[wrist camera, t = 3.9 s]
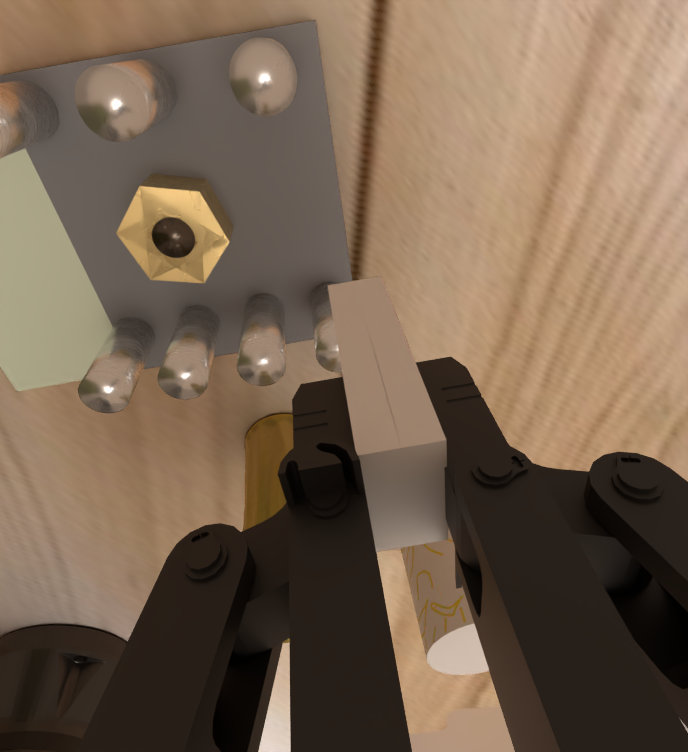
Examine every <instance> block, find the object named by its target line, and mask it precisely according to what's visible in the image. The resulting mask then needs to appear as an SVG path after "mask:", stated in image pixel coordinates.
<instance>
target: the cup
mask: <svg viewBox="0 0 688 752" xmlns="http://www.w3.org/2000/svg"><path fill="white" fill-rule="evenodd" d="M401 551H402V555H403V560H404V564H405V568H406V572H407V577H408V581H409V585H410V590H411V594H412V598H413V602H414V607H415V611H416V615H417V619H418V624H419V628H420V632H421V636H422V641H423V645H424V649H425V653H426V658H427V662H428V664H429V665H430V666H431V667H432V668H433V669H435V670H437V671H439V672H442V673H446V674H453V675H468V674H477V673H482V672H486V671H489V668H488V665H487V662H486V659H485V656H484V652H483V649H482V646H481V643H480V640H479V637H478V634H477V630H476V627H475V624H474V621H473V618H472V615H471V612H470V608H469V605H468V602H467V599H466V596H465V593H464V590H463V586H462V588H457V589H456V581H455V545H454V542H453V539H452V536H451V533H450V530H449V527H448V540H443V541H437V542H431V543H426V544H420V545H414V546H408V547H403V548H401Z"/></svg>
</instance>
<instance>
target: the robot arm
mask: <svg viewBox="0 0 688 752" xmlns="http://www.w3.org/2000/svg"><path fill="white" fill-rule="evenodd" d="M327 286H328V291H329V297H330V303H331V309H332V315H333V321H334V327H335V333H336V339H337V345H338V350H339V356H340V362H341V368H342V374H343V377H340V378H334V379H328V380H323V381H317V382H311V383H305V384H301V385H300V387H299V389H298V390H297V392H296V394H295V396H294V398H293V399H292V405H293V449H292V450H290V451H289V452H288V453H287V455H286V456H285V457H284V458H283V460H282V461H281V462H280V466H279V470H278V477H279V481H280V484H281V487H282V490H283V493H284V496H285V499H286V504H285V505H284V506H283V508H282V509H280V510H279V511H278V512H277V513H276V514H275V515H274V516H272V517H270V518H268V519H267V520H265V521H263V522H261V523H259V524H257V525H255V526H253V527H251V528H249V529H247V530H244V531H242V532H240V531H239V530H237V529H236V528H235V527H234V526H230V525H225V524H221V523H220V524H212V525H205V526H203V527H201V528H199V529H197V530H194V531H192V532H190V533H189V534H188V535H187V536H185V537H184V538H183V539H182V540H181V541H179V542H178V543H177V544H176V546H175V547H174V549H173V550H172V552H171V553H170V555H169V556H168V557H167V560H166V562H165V564H164V566H163V568H162V570H161V572H160V574H159V577H158V579H157V581H156V583H155V585H154V587H153V589H152V591H151V594H150V596H149V598H148V600H147V602H146V604H145V606H144V608H143V611H142V613H141V615H140V617H139V619H138V621H137V623H136V625H135V627H134V630H133V632H132V634H131V636H130V638H129V640H128V642H127V643H126V642H124V641H123V640H121V639H119V638H117V637H115V636H113V635H110V634H107V633H105V632H101V631H98V630H94V629H89V628H83V627H76V626H61V625H53V626H39V627H32V628H26V629H22V630H18V631H15V632H12V633H10V634H7V635H5V636H3V637H1V638H0V752H258V750H259V745H260V741H261V736H262V732H263V728H264V723H265V719H266V714H267V710H268V706H269V701H270V697H271V692H272V688H273V683H274V679H275V675H276V670H277V666H278V661H279V657H280V652H281V648H282V644H283V642H284V641H285V640H287V639H289V638H290V721H291V752H412V749H411V743H410V738H409V732H408V727H407V721H406V716H405V710H404V704H403V699H402V693H401V688H400V682H399V677H398V671H397V665H396V660H395V654H394V649H393V643H392V638H391V632H390V626H389V621H388V615H387V610H386V604H385V599H384V593H383V587H382V582H381V576H380V571H379V565H378V560H377V554H376V552H380V551H385V550H391V549H397V548H403V547H408V546H414V545H420V544H426V543H431V542H437V541H443V540H448V527H449V530H450V533H451V536H452V539H453V542H454V545H455V581H456V589H457V588H462V586H463V590H464V593H465V596H466V599H467V602H468V605H469V608H470V612H471V615H472V618H473V621H474V624H475V627H476V630H477V634H478V637H479V640H480V643H481V646H482V649H483V652H484V656H485V659H486V662H487V665H488V668H489V671H490V674H491V678H492V681H493V684H494V687H495V690H496V693H497V696H498V699H499V703H500V706H501V709H502V712H503V715H504V718H505V721H506V725H507V728H508V731H509V734H510V737H511V740H512V743H513V746H514V750H515V752H688V733H687V731H686V730H685V727H684V726H683V724H682V723H681V721H680V719H681V720H682V722H683V723H684V724H685V725H686V726H687V728H688V482H687V481H686V480H685V479H683V478H682V477H681V476H679V475H678V474H677V473H676V472H674V471H673V470H672V469H670V468H669V467H667V466H666V465H664V464H662V463H660V462H659V461H657V460H655V459H653V458H650V457H647V456H644V455H641V454H637V453H627V452H616V453H611V454H606V455H603V456H602V457H600V458H599V459H597V460H596V461H594V462H593V464H592V466H591V469H590V471H589V472H586V471H574V470H562V469H553V468H547V467H543V466H540V465H537V464H534V463H532V462H531V461H530V460H529V459H528V458H527V456H526V455H525V454H523V453H522V452H520V451H518V450H516V449H514V448H513V447H510V446H509V444H508V443H507V441H506V439H505V438H504V436H503V434H502V432H501V430H500V428H499V427H498V425H497V423H496V421H495V419H494V417H493V415H492V414H491V412H490V410H489V408H488V406H487V404H486V403H485V401H484V399H483V398H482V397H481V393H480V392H479V390H478V388H477V386H476V385H475V382H474V381H473V379H472V377H471V375H470V373H469V371H468V370H467V368H466V367H465V366H463V365H462V364H460V363H459V362H458V361H456V360H455V359H453V358H452V357H446V358H441V359H435V360H429V361H423V362H418V363H416V362H415V360H414V357H413V355H412V352H411V350H410V347H409V345H408V342H407V340H406V337H405V335H404V332H403V330H402V327H401V325H400V322H399V320H398V317H397V315H396V312H395V310H394V307H393V305H392V302H391V300H390V297H389V295H388V292H387V290H386V287H385V285H384V282H383V280H382V277H381V276H379V277H373V278H367V279H362V280H356V281H350V282H345V283H339V284H333V285H327ZM679 718H680V719H679Z"/></svg>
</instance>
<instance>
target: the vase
mask: <svg viewBox="0 0 688 752" xmlns="http://www.w3.org/2000/svg"><path fill="white" fill-rule="evenodd" d="M292 449H293V414H276V415H272V416H269V417H266V418H264V419H262V420H260V421H258V422H257V423H256V424H255V425H254V426H253V427H252V428H251V429H250V430H249V432H248V433H247V435H246V438H245V510H244V525H243V531H244V530H247V529H249V528H251V527H253V526H255V525H257V524H259V523H261V522H263V521H265V520H267V519H268V518H270V517H272V516H274V515H275V514H276V513H277V512H278V511H279V510H280V509H282V508H283V506H284V505H285V504H286V499H285V496H284V493H283V490H282V487H281V484H280V481H279V477H278V470H279V466H280V462H281V461H282V460H283V458H284V457H285V456H286V455H287V453H288V452H289V451H290V450H292ZM288 642H290V638H289V639H287V640H285V641H284V642H283V643H288Z"/></svg>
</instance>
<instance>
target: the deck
mask: <svg viewBox="0 0 688 752" xmlns="http://www.w3.org/2000/svg"><path fill="white" fill-rule="evenodd" d="M258 37H262V38H271V39H274V40H276V41H278V42H279V43H281V44H282V45H283V46H284V47H285V48H286V49H287V51H288V52H289V54H290V56H291V58H292V60H293V62H294V65H295V68H296V72H297V89H296V93H295V96H294V98H293V100H292V102H291V103H290V105H289V106H288V107H287V108H286V109H285V110H284V111H282V112H281V113H279V114H277V115H274V116H268V117H265V116H258V115H255V114H253V113H251V112H249V111H248V110H246V109H245V108H244V107H243V106H242V105H241V104H240V103H239V102H238V100H237V99H236V97H235V95H234V93H233V91H232V88H231V85H230V80H229V67H230V62H231V59H232V57H233V54H234V53H235V51H236V50H237V48H238V47H239V46H240V45H241V44H242V43H244V42H245V41H247V40H249V39H252V38H258ZM138 59H147V60H151V61H154V62H156V63H158V64H159V65H161V66H162V67H163V68H164V69H165V70H166V71H167V72H168V73H169V75H170V76H171V78H172V80H173V82H174V85H175V88H176V104H175V107H174V109H173V111H172V112H171V113H170V114H169V115H168V116H167V117H165V118H164V119H162V120H161V121H159V122H158V123H156V124H155V125H153V126H152V127H150V128H149V129H147V130H146V131H144V132H143V133H141V134H140V135H138V136H137V137H135V138H134V139H132V140H130V141H126V142H113V141H109V140H106V139H104V138H102V137H100V136H98V135H97V134H96V133H94V132H93V131H92V130H91V129H90V128H89V127H88V126H87V125H86V124H85V122H84V121H83V120H82V118H81V116H80V114H79V112H78V110H77V107H76V103H75V96H74V93H75V85H76V82H77V80H78V78H79V76H80V75H81V74H82V73H83V72H84V71H85V70H86V69H88V68H90V67H93V66H96V65H103V64H110V63H117V62H124V61H131V60H138ZM12 81H28V82H31V83H34V84H36V85H37V86H39V87H41V88H42V89H43V90H44V91H46V92H47V93H48V95H49V96H50V97H51V98H52V100H53V101H54V103H55V105H56V107H57V110H58V113H59V127H58V129H57V131H56V133H55V134H54V135H53V136H52V137H50V138H48V139H46V140H43V141H41V142H39V143H36V144H34V145H32V146H29V147H27V148H25V149H22V150H20V151H18V152H15V153H13V154H11V155H8V156H6V157H4V158H1V159H0V367H1V369H2V370H3V372H4V373H5V374H6V376H7V377H8V379H9V380H10V382H11V383H12V385H13V386H14V388H15V389H16V390H17V392H19V391H24V390H30V389H35V388H41V387H47V386H52V385H58V384H64V383H69V382H75V381H80V380H83V378H84V376H85V374H86V373H87V371H88V369H89V368H90V366H91V364H92V362H93V361H94V359H95V357H96V356H97V354H98V352H99V350H100V349H101V347H102V345H103V344H104V342H105V340H106V339H107V337H108V335H109V333H110V332H111V330H112V328H113V327H114V325H115V323H116V322H117V321H118V320H120V319H122V318H125V317H136V318H139V319H142V320H144V321H145V322H147V323H148V324H149V325H150V326H151V327H152V329H153V330H154V333H155V341H154V344H153V346H152V349H151V351H150V353H149V356H148V358H147V361H146V363H145V365H144V368H143V369H148V368H154V367H159V366H161V365H162V362H163V360H164V357H165V354H166V352H167V349H168V346H169V343H170V341H171V338H172V335H173V333H174V330H175V327H176V324H177V322H178V319H179V316H180V314H181V312H182V311H183V310H184V309H185V308H187V307H189V306H193V305H202V306H205V307H208V308H210V309H211V310H213V311H214V312H215V313H216V315H217V316H218V318H219V321H220V328H219V333H218V338H217V342H216V347H215V352H214V356H213V357H215V356H221V355H227V354H232V353H238V352H239V346H240V339H241V332H242V325H243V317H244V310H245V305H246V303H247V301H248V300H249V299H250V298H251V297H252V296H254V295H257V294H260V293H268V294H271V295H274V296H276V297H277V298H278V299H280V301H281V302H282V303H283V305H284V308H285V344H289V343H294V342H300V341H305V340H311V339H314V331H313V322H312V313H311V304H310V297H311V294H312V291H313V290H314V289H315V288H316V287H317V286H318V285H319V284H321V283H324V282H328V281H333V282H338V283H345V282H350V281H352V275H351V268H350V261H349V253H348V246H347V239H346V232H345V225H344V218H343V211H342V204H341V197H340V190H339V183H338V176H337V169H336V162H335V154H334V147H333V140H332V133H331V126H330V119H329V112H328V105H327V98H326V91H325V84H324V77H323V70H322V63H321V56H320V48H319V41H318V34H317V27H316V20H313V21H307V22H302V23H296V24H290V25H284V26H279V27H273V28H267V29H261V30H256V31H250V32H244V33H238V34H233V35H227V36H221V37H216V38H210V39H204V40H198V41H193V42H187V43H181V44H175V45H170V46H164V47H158V48H153V49H147V50H141V51H135V52H130V53H124V54H118V55H112V56H107V57H101V58H95V59H89V60H84V61H78V62H72V63H67V64H61V65H55V66H49V67H44V68H38V69H32V70H26V71H21V72H15V73H9V74H4V75H0V83H6V82H12ZM151 174H161V175H171V176H182V177H192V178H202V179H207V181H208V182H209V184H210V186H211V188H212V189H213V191H214V193H215V195H216V196H217V198H218V200H219V202H220V203H221V205H222V207H223V209H224V210H225V212H226V214H227V216H228V217H229V219H230V221H231V222H232V224H233V226H234V227H233V231H232V235H231V239H230V242H229V244H228V246H227V247H226V249H225V250H224V252H223V254H222V255H221V257H220V258H219V260H218V262H217V263H216V265H215V266H214V268H213V270H212V271H211V273H210V275H209V276H208V278H207V279H206V281H205V283H191V282H176V281H161V280H150V279H149V277H148V276H147V275H146V273H145V272H144V270H143V269H142V268H141V266H140V265H139V264H138V262H137V261H136V260H135V258H134V257H133V255H132V254H131V253H130V251H129V250H128V249H127V247H126V246H125V245H124V243H123V242H122V240H121V239H120V238H119V236H118V235H117V234H116V233H117V231H118V229H119V226H120V224H121V222H122V220H123V218H124V216H125V214H126V212H127V210H128V208H129V206H130V204H131V202H132V200H133V198H134V196H135V194H136V192H137V190H138V188H139V186H140V185H141V184H142V183H143V182H144V181H145V180H146V179H147V178H148V177H149V176H150V175H151Z"/></svg>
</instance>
